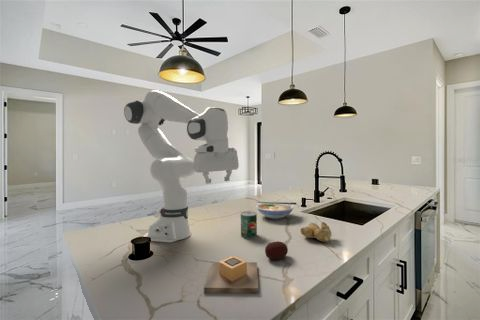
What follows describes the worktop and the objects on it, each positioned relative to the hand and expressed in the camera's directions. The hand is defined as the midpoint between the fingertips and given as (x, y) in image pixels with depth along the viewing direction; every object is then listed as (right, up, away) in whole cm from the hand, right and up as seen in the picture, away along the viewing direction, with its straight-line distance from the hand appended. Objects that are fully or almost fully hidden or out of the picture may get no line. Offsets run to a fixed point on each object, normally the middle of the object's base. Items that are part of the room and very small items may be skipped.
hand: (217, 182), depth 96 cm
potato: (+23, -29, -4) cm, 37 cm away
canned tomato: (+13, -28, +21) cm, 38 cm away
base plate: (+7, -30, -18) cm, 35 cm away
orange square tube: (+7, -28, -18) cm, 34 cm away
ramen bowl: (+31, -27, +51) cm, 65 cm away
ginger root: (+45, -28, +15) cm, 55 cm away
